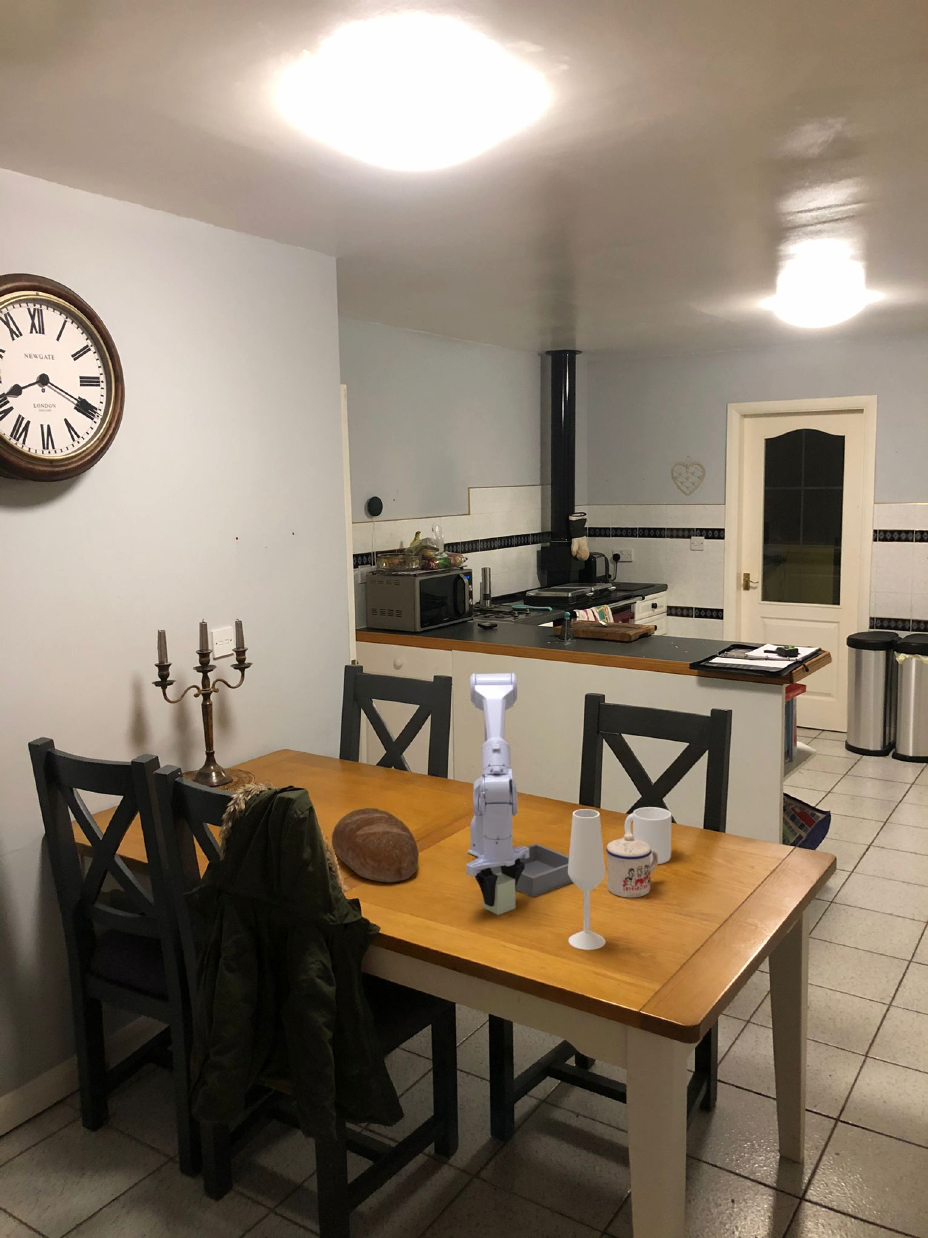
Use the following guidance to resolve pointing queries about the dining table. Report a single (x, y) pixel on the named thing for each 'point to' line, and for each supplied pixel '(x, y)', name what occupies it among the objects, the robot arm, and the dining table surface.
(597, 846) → the champagne flute
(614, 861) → the teacup with lid
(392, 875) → the bread
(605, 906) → the dining table surface
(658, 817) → the mug
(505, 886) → the block
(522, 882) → the bin
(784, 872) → the dining table surface
